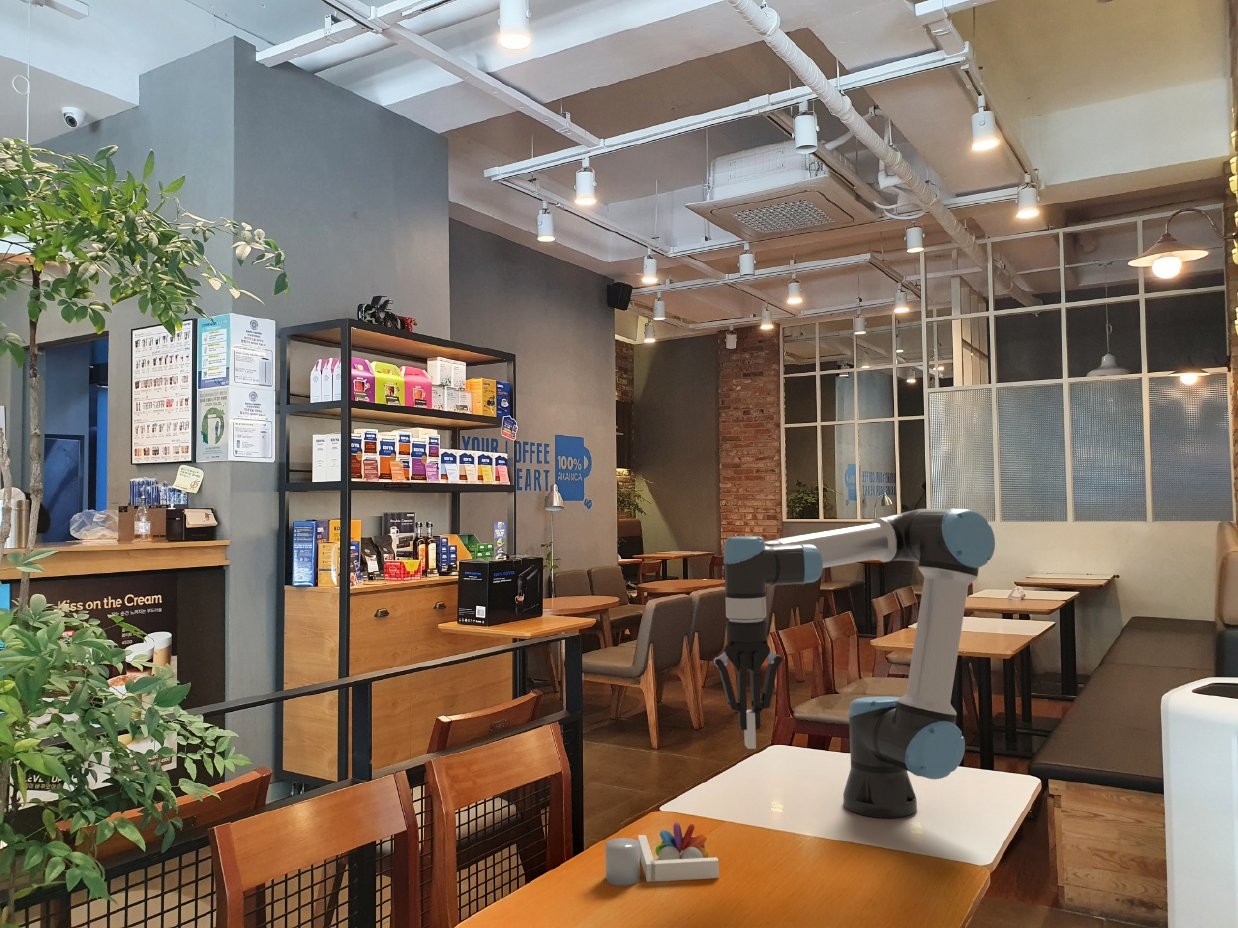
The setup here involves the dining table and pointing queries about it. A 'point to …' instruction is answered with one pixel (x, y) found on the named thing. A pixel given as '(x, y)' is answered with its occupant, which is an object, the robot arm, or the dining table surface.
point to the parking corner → (675, 866)
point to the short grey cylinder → (622, 861)
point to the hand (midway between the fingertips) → (750, 746)
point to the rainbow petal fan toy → (681, 844)
